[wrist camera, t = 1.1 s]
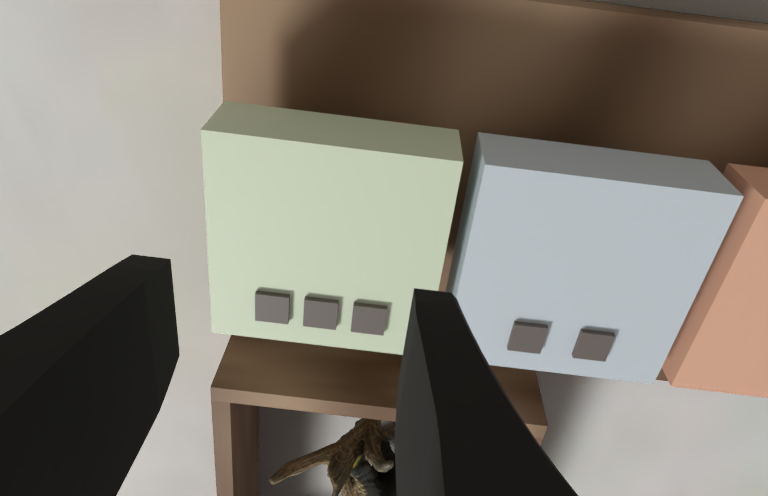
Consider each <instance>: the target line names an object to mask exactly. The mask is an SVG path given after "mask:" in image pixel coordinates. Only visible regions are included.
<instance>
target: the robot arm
mask: <svg viewBox="0 0 768 496" xmlns="http://www.w3.org/2000/svg"><path fill="white" fill-rule="evenodd" d="M178 358H179V345H178V334H177V324H176V313H175V303H174V292H173V281H172V271H171V260H170V259H165V258H156V257H148V256H140V255H131V256H129V257H127V258H126V259H124V260H122V261H120V262H119V263H117V264H115V265H114V266H112V267H111V268H109V269H107V270H106V271H104V272H103V273H101V274H99V275H98V276H96V277H95V278H93V279H92V280H90V281H88V282H87V283H85V284H84V285H82V286H81V287H79V288H77V289H76V290H74V291H73V292H71V293H70V294H68V295H66V296H65V297H63V298H62V299H60V300H58V301H57V302H55V303H53V304H52V305H50V306H49V307H47V308H45V309H44V310H42V311H41V312H39V313H37V314H36V315H34V316H32V317H31V318H29V319H28V320H26V321H24V322H23V323H21V324H19V325H18V326H16V327H14V328H13V329H11V330H9V331H7V332H5V333H4V334H2V335H0V496H116V495H117V493H118V491H119V489H120V487H121V485H122V483H123V481H124V479H125V478H126V476H127V474H128V472H129V470H130V468H131V466H132V464H133V462H134V460H135V458H136V456H137V454H138V452H139V450H140V448H141V446H142V445H143V443H144V441H145V439H146V437H147V435H148V433H149V431H150V429H151V427H152V425H153V423H154V421H155V419H156V417H157V415H158V413H159V411H160V408H161V406H162V403H163V400H164V398H165V395H166V392H167V390H168V387H169V384H170V381H171V378H172V375H173V373H174V370H175V367H176V364H177V361H178ZM395 465H396V491H397V496H578V495H577V494H576V493H575V491H574V490H573V489H572V487H571V486H570V485H569V484H568V482H567V481H566V480H565V479H564V477H563V476H562V475H561V473H560V472H559V471H558V469H557V468H556V467H555V465H554V464H553V463H552V461H551V460H550V459H549V457H548V456H547V455H546V453H545V452H544V450H543V449H542V448H541V446H540V445H539V443H538V442H537V440H536V439H535V438H534V436H533V435H532V433H531V432H530V430H529V429H528V427H527V426H526V424H525V423H524V421H523V420H522V418H521V417H520V415H519V414H518V412H517V410H516V409H515V407H514V406H513V404H512V403H511V401H510V399H509V398H508V396H507V395H506V393H505V391H504V389H503V388H502V386H501V384H500V383H499V381H498V379H497V377H496V376H495V374H494V372H493V371H492V369H491V367H490V365H489V364H488V362H487V360H486V358H485V356H484V355H483V353H482V351H481V349H480V347H479V345H478V343H477V341H476V339H475V337H474V335H473V333H472V331H471V329H470V327H469V325H468V323H467V321H466V319H465V317H464V314H463V312H462V310H461V308H460V305H459V303H458V300H457V299H456V297H455V296H454V295H453V294H452V293H451V292H442V291H434V290H425V289H417V288H414V291H413V297H412V303H411V309H410V315H409V321H408V327H407V333H406V339H405V345H404V351H403V357H402V362H401V368H400V374H399V380H398V393H397V407H396V422H395Z"/></svg>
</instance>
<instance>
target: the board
mask: <svg viewBox="0 0 768 496" xmlns="http://www.w3.org/2000/svg"><path fill="white" fill-rule="evenodd" d="M220 21H221V51H222V82H223V102H224V101H230V102H238V103H246V104H254V105H262V106H270V107H278V108H286V109H294V110H302V111H311V112H319V113H327V114H335V115H343V116H351V117H359V118H367V119H375V120H383V121H392V122H400V123H408V124H416V125H424V126H432V127H440V128H448V129H456V130H459V135H460V142H461V149H462V155H463V167H462V172H461V177H460V182H459V187H458V192H457V197H456V203H455V208H454V213H453V218H452V223H451V228H450V233H449V238H448V243H447V248H446V254H445V259H444V264H443V269H442V274H441V279H440V284H439V289H438V291H442V292H446V287H447V282H448V277H449V272H450V267H451V262H452V257H453V252H454V248H455V243H456V238H457V233H458V228H459V223H460V218H461V213H462V208H463V203H464V199H465V194H466V189H467V184H468V179H469V174H470V169H471V164H472V159H473V154H474V150H475V145H476V140H477V135H478V132H481V133H489V134H497V135H505V136H513V137H521V138H529V139H537V140H546V141H554V142H562V143H570V144H578V145H586V146H594V147H602V148H610V149H618V150H627V151H635V152H643V153H651V154H659V155H667V156H675V157H683V158H691V159H699V160H708V161H710V162H711V163H712V164H713V165H714V166H715V167H716V168H717V169H718V170H719V171H720V173H721V174H722V175H723V173H724V171H725V168H726V166H727V164H728V163H732V164H740V165H748V166H756V167H764V168H768V24H765V23H757V22H750V21H742V20H734V19H726V18H718V17H710V16H703V15H695V14H687V13H679V12H671V11H663V10H655V9H648V8H640V7H632V6H624V5H616V4H608V3H600V2H593V1H585V0H220ZM402 357H403V355H399V354H391V353H382V352H373V351H365V350H356V349H348V348H339V347H331V346H322V345H314V344H305V343H297V342H288V341H280V340H271V339H262V338H254V337H245V336H237V335H231V337H230V340H229V342H228V345H227V347H226V350H225V352H224V355H223V357H222V360H221V362H220V365H219V367H218V370H217V372H216V375H215V377H214V380H213V382H212V385H211V404H212V421H213V437H214V454H215V471H216V487H217V496H258V406H263V407H271V408H280V409H289V410H297V411H306V412H315V413H323V414H332V415H341V416H349V417H358V418H367V419H375V420H384V421H393V422H396V407H397V393H398V380H399V374H400V368H401V362H402ZM490 367H491V369H492V371H493V372H494V374H495V376H496V377H497V379H498V381H499V383H500V384H501V386H502V388H503V389H504V391H505V393H506V395H507V396H508V398H509V399H510V401H511V403H512V404H513V406H514V407H515V409H516V410H517V412H518V414H519V415H520V417H521V418H522V420H523V421H524V423H525V424H526V426H527V427H528V429H529V430H530V432H531V433H532V435H533V436H534V438H535V439H536V440H537V442H538V443H539V445H540V446H541V444H542V441H543V438H544V435H545V433H546V430H547V427H548V424H547V420H546V416H545V411H544V407H543V403H542V398H541V394H540V389H539V385H538V381H537V376H536V372H535V370H527V369H519V368H510V367H502V366H493V365H490ZM656 380H663V381H668V379H667V377H666V375H665V373H664V371H663V369H662V368H661V370H660V372H659V374H658V376H657V378H656Z"/></svg>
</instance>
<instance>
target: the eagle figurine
mask: <svg viewBox="0 0 768 496" xmlns="http://www.w3.org/2000/svg"><path fill="white" fill-rule="evenodd" d="M387 440H395V428H393V429H392V430H390V431H386V430H384V429H381V420H375V419H367V418H362V419H360V420H359V421H356V423H355V427H354V428H353V429H351V430H350V431H349V432H348V433H347V434H345V435H343V436H342V437H341V438H340V440H338V441H337V442H336V443H333V444H330V445H328V446H326V447H324V448H322V449H319V450H317V451H314V452H312V453H309V454H307V455H304V456H302V457H299V458H297V459H295V460H292V461H289V462H287V463H286V464H284V465H283V466H282V467H281V468H280V469H279V470H278V471H277V472H276V473H275V474H274V475H273V476H272V477H271V478H270V479H269V481H270V483H271V484H273V485H274V484H277V483H279V482H281V481H282V480H284V479H286V478H288V477H291V476H295V475H298V474H300V473H302V472H304V471H307V470H309V469H310V468H312V467H314V466H317V465H319V464H327V466H328V478H329V479H330V480H331V483H332V485H333V494H332V496H338V494H339V492H341V494H342V496H397V491H396V465H395V454H394V452H393V451H392V449H391V447H390V443H389V442H388V441H387ZM368 461H369V462H370V463H371V464H372V466H371V465H370V463H369V462H368Z"/></svg>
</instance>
